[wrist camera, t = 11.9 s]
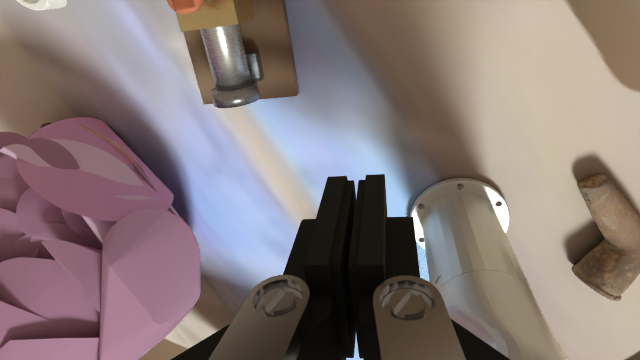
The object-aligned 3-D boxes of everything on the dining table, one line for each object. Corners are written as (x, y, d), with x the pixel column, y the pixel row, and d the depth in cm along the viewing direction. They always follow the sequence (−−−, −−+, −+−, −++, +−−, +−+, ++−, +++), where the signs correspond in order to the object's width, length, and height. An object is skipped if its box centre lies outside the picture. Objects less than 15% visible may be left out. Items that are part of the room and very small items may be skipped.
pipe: (630, 177, 40) (545, 230, 43) (692, 276, 45) (611, 318, 47) (592, 157, 46) (519, 205, 49) (650, 246, 51) (580, 285, 53)
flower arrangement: (42, 163, 64) (-187, 291, 42) (51, 55, 49) (-294, 167, 27) (207, 286, 67) (73, 463, 45) (264, 219, 52) (105, 436, 30)
